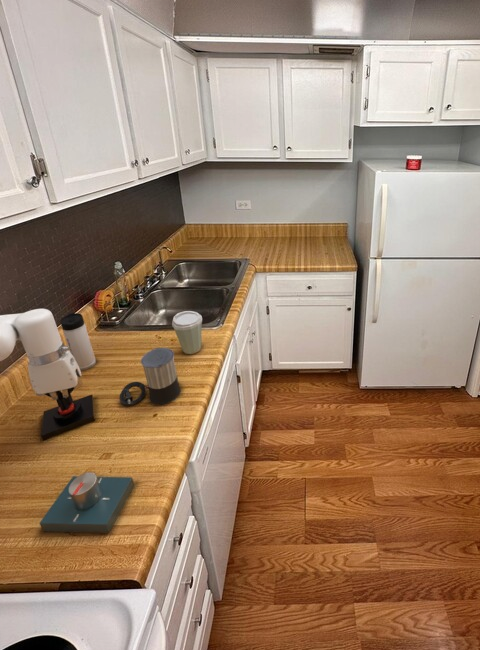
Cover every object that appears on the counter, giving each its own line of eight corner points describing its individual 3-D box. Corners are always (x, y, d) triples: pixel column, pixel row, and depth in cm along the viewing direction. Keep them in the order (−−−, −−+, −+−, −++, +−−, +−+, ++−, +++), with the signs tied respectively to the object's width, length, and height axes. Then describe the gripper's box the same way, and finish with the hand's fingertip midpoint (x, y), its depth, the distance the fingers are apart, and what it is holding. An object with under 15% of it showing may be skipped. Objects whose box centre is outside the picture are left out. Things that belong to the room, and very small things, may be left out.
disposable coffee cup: (209, 341, 132) (205, 308, 126) (202, 359, 122) (197, 324, 116) (183, 342, 132) (177, 309, 126) (173, 359, 122) (166, 324, 116)
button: (59, 418, 93) (57, 413, 92) (60, 410, 96) (58, 405, 95) (75, 412, 95) (73, 408, 94) (75, 404, 98) (73, 400, 97)
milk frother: (186, 394, 106) (179, 356, 100) (134, 424, 95) (123, 383, 89) (166, 373, 115) (158, 337, 109) (116, 399, 104) (105, 360, 98)
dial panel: (43, 532, 69) (38, 522, 68) (76, 484, 79) (72, 475, 77) (109, 533, 69) (106, 524, 68) (134, 485, 78) (132, 476, 77)
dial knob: (85, 486, 75) (79, 470, 73) (106, 487, 75) (101, 471, 73) (69, 510, 71) (62, 493, 69) (91, 511, 70) (85, 494, 68)
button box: (43, 441, 89) (38, 430, 88) (45, 416, 97) (41, 406, 96) (95, 421, 96) (92, 411, 94) (94, 399, 103) (90, 389, 102)
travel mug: (96, 357, 123) (82, 310, 115) (96, 367, 118) (82, 318, 110) (75, 363, 119) (60, 315, 112) (75, 373, 114) (58, 324, 107)
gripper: (83, 340, 93) (99, 391, 100) (19, 351, 89) (41, 403, 96) (75, 356, 87) (93, 409, 94) (5, 369, 82) (29, 423, 89)
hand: (66, 406), depth 95 cm, fingers closed
